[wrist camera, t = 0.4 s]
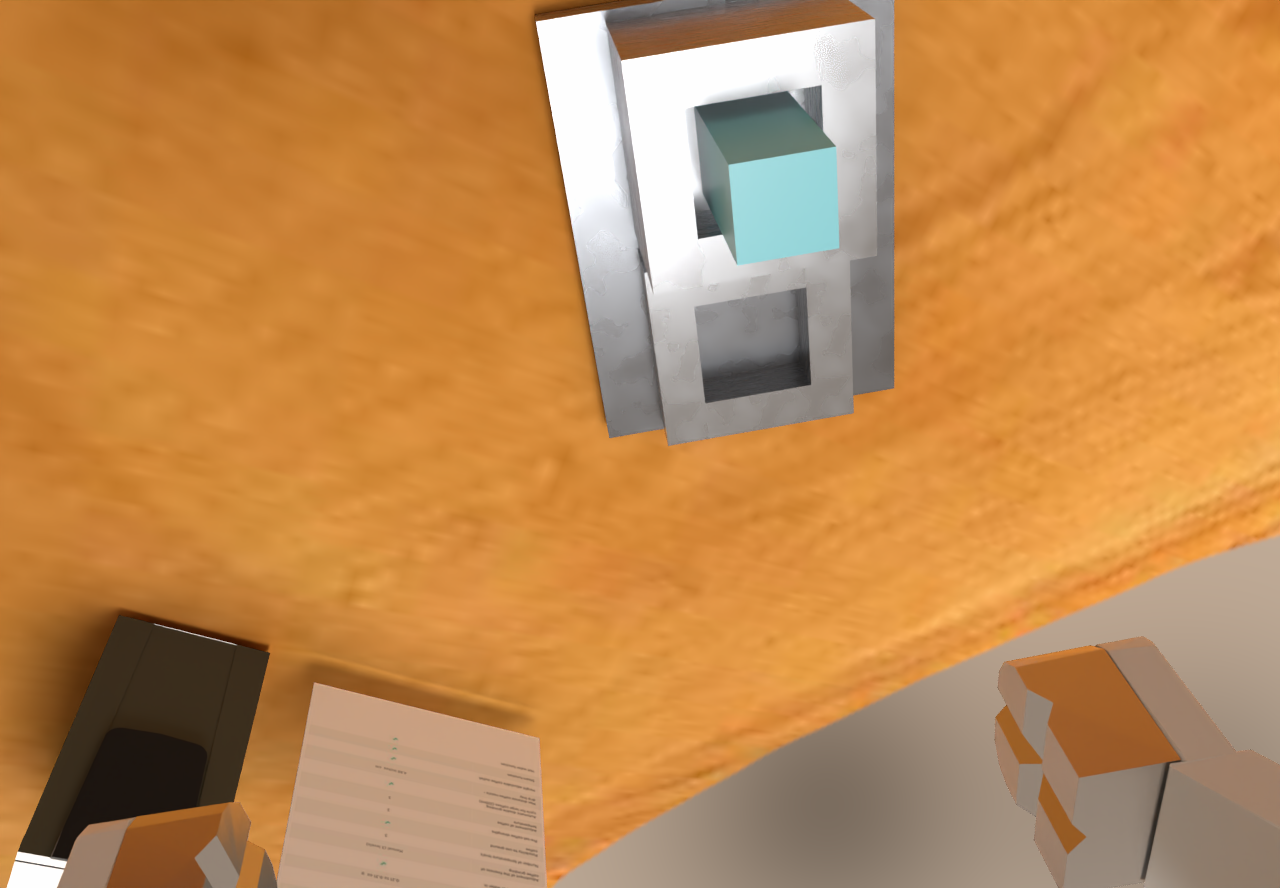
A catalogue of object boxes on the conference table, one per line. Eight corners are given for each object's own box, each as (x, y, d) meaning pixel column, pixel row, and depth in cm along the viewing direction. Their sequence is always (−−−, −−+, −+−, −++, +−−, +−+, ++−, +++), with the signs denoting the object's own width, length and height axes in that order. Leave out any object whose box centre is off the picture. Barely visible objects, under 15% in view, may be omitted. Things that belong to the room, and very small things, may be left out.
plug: (693, 104, 46) (728, 164, 39) (785, 88, 46) (836, 146, 39) (702, 194, 48) (737, 265, 41) (790, 178, 48) (839, 248, 41)
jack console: (534, 14, 48) (542, 60, 41) (883, -43, 49) (950, -8, 42) (607, 423, 60) (622, 513, 53) (885, 375, 61) (938, 457, 54)
